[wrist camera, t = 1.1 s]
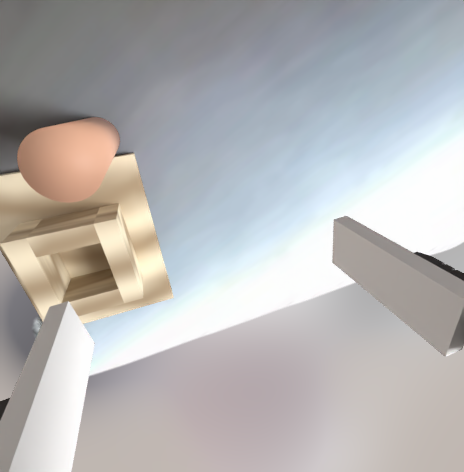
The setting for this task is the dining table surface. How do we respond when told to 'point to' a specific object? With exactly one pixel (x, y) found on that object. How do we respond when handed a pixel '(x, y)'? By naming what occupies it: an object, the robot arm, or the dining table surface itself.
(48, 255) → the socket block
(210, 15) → the dining table surface
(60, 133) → the dowel
